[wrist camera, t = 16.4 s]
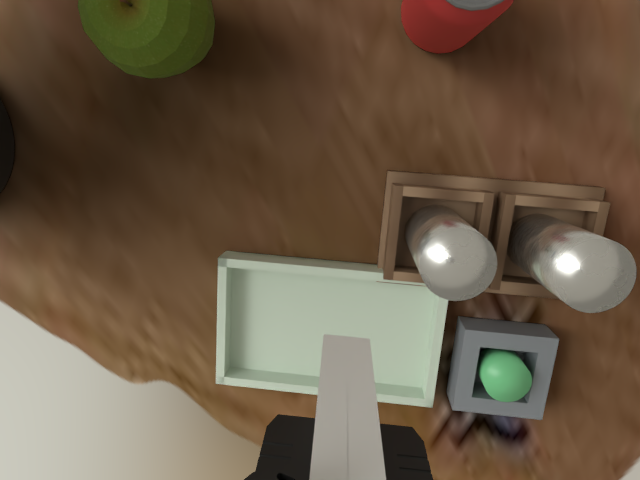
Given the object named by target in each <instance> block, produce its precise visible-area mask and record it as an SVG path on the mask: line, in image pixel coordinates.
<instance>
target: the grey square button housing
mask: <svg viewBox="0 0 640 480" xmlns="http://www.w3.org/2000/svg"><path fill="white" fill-rule="evenodd" d="M558 343H559V338H558V337H557V336H556V335H555V334H554V333H553V332H552V331H551V330H550V329H549V328H548V327H547V326H546V325H545V324H534V323H524V322H514V321H503V320H493V319H483V318H473V317H462V316H458V319H457V326H456V332H455V339H454V345H453V352H452V358H451V365H450V371H449V378H448V384H447V391H446V392H447V395H448V398H449V401H450V404H451V407H452V410H456V411H465V412H474V413H483V414H492V415H501V416H510V417H520V418H529V419H538V420H542V418H543V413H544V408H545V404H546V399H547V394H548V390H549V385H550V380H551V376H552V371H553V366H554V362H555V357H556V353H557V348H558ZM485 348H494V349H504V350H514V351H515V352H516V353H517V355H518V356H519V357H520V359H521V360H522V362H523V363H524V364H525V366H526V367H527V369H528V370H529V371H530V373H531V377H532V385H531V388H530V390H529V391H528V393H527V394H526V395H525V396H524V397H522V398H521V399H519V400H517V401H513V402H501V401H498V400H495V399H494V398H492V397H491V396H490V395H489V394H488V393H487V391H486V389H485V387H484V385H483V383H482V381H481V379H480V377H479V375H478V373H477V370H476V368H477V362H478V357H479V354H480V353H481V352H482V351H483V350H484V349H485Z"/></svg>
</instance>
